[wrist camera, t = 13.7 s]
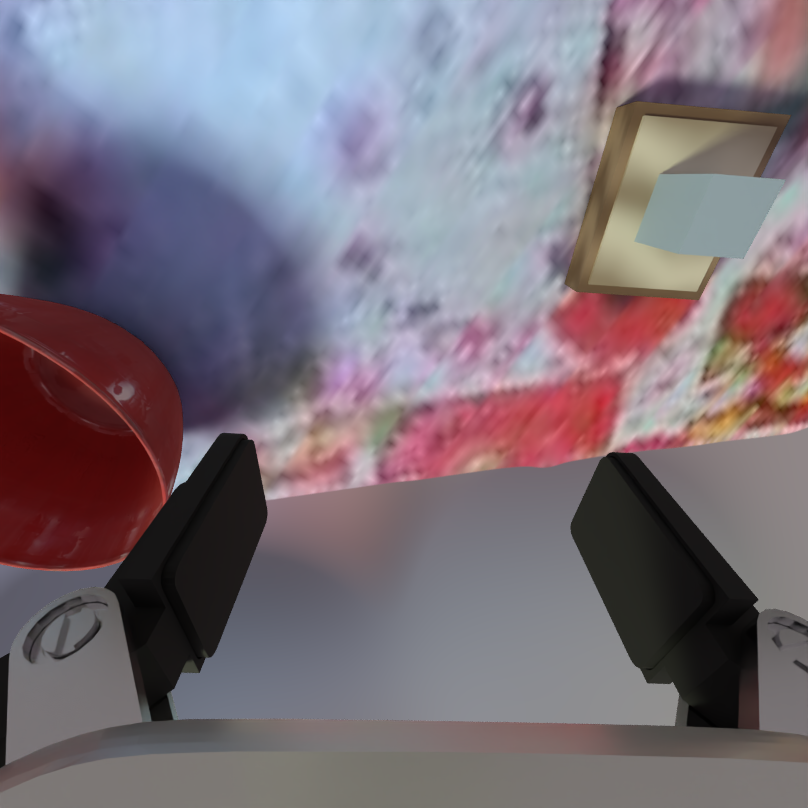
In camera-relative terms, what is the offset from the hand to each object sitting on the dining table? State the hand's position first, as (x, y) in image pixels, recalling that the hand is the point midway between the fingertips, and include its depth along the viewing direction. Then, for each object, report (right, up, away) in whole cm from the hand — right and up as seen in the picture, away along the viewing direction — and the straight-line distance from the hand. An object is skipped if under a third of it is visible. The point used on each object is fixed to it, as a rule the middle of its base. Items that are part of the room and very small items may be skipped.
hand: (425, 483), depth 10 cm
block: (+22, +18, +21) cm, 35 cm away
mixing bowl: (-35, +5, +32) cm, 48 cm away
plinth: (+22, +20, +23) cm, 38 cm away
